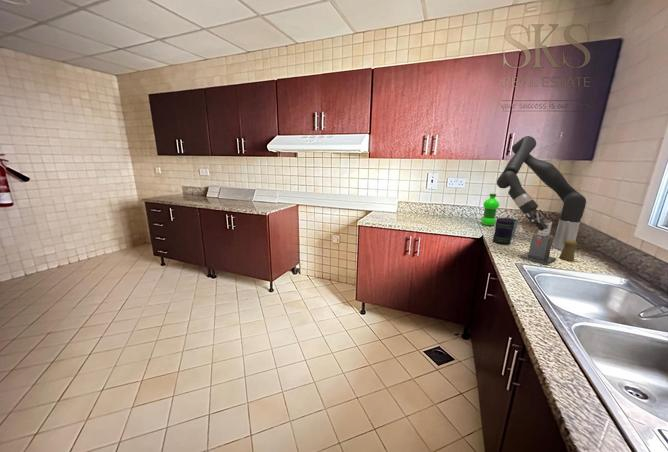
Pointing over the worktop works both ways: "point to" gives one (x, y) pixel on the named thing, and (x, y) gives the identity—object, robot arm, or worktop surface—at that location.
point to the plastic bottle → (490, 210)
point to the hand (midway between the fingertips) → (546, 228)
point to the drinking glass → (514, 225)
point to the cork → (568, 250)
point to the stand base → (540, 250)
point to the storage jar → (503, 231)
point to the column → (547, 227)
